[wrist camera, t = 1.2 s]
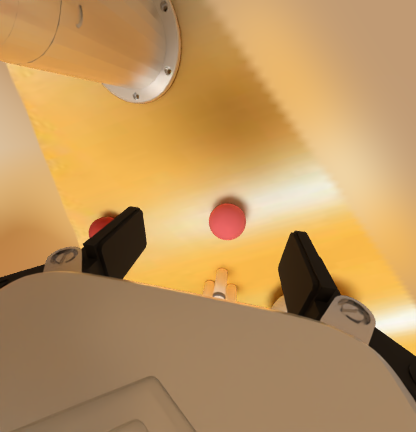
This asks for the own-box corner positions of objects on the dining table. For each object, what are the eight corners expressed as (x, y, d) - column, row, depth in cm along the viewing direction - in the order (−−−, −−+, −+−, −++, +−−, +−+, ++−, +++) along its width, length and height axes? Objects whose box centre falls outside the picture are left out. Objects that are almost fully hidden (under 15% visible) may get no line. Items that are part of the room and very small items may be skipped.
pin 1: (205, 279, 42) (197, 314, 34) (215, 281, 41) (209, 317, 34) (205, 286, 43) (197, 321, 36) (215, 288, 43) (209, 324, 35)
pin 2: (226, 283, 41) (223, 319, 34) (237, 284, 41) (236, 322, 34) (225, 290, 42) (222, 326, 35) (236, 291, 42) (234, 329, 35)
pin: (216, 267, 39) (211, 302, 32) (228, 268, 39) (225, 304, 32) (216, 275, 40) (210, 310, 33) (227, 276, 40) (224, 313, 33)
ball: (212, 195, 31) (206, 212, 26) (247, 199, 30) (248, 217, 25) (211, 225, 34) (205, 245, 29) (243, 228, 33) (243, 250, 28)
